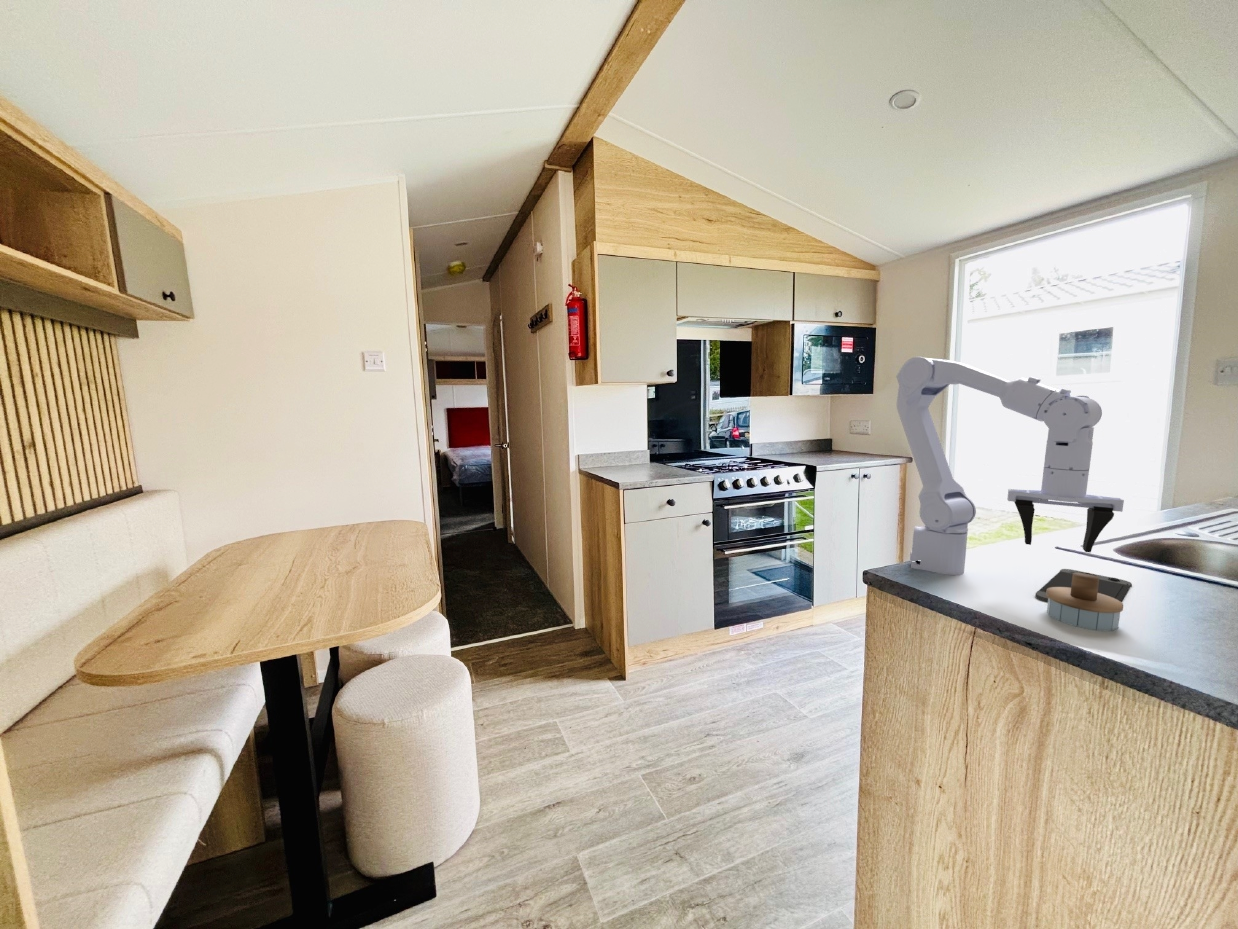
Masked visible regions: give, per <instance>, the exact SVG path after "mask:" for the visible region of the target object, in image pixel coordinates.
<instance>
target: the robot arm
mask: <svg viewBox="0 0 1238 929" xmlns="http://www.w3.org/2000/svg"><path fill="white" fill-rule="evenodd" d="M895 378H896V379H897V383H898V388H897V390H898V392H897V397H896V398H897V399H896V410H897V413H898V415H899V419H900V422H901V425H902V427H903V430H904V433H905V436H906V439H907V442H908V444H909V449H910V451H911V454H912V457H913V459H914V463H915V466H916V469H917V472H918V475H919V477H920V480H921V484H922V488H921V489H920V491H919V494H918V500H919V505H920V506H919V518H920V520H921V522H922V524H924V526H917V525H915V526H914V528H913V532H912V533H913V534H912V546H911V551H910V556H909V561H910V568H911V569H916V570H922V571H927V572H933V573H935V574H941V575H948V576H949V575H950V576H958V575H959V576H960V575H964V573H965V567H966V566H965V565H966V554H967V544H968V532H969V528H968V524H970V523H972V521H974V519H975V517H976V514H977V510H976V509H977V508H976V505H975V503H974V502H973V501H972V499H970V497H968V496H967V495H966V492H965V489H964V487H963V486H961V484H960V483H958V482H957V481H956V480H955V479H954V477H953V474H952V471H951V469H950V466H949V463H948V461H947V460H948V459H947V458H946V454H945V451H944V449H943V447H942V443H941V441H940V438H939V436H938V433H937V429H936V426H935V424H934V421H933V418H932V415H931V412H930V409H929V407H930V405H931V404H932V403H933V401H934V400H935V398H937V396H938V395H940V394H941V393H942V392H943V391H944V390H945V389H947V388H948V387H949V386H950V385H959V384H960V385H963V386H966V387H968V388H971V389H973V390H976V391H980V392H983V393H986V394H990V395H991V396H995V397H998V398H999V399H1000V402H1001V404H1002V406H1003V408H1006V409H1008V410H1010V411H1013V412H1016V413H1017V414H1018V413H1019V414H1020V415H1023V416H1026V417H1029V418H1031V419H1034V420H1036V421H1039V422H1044V424H1045V426H1046V427H1048V432H1047V440H1046V445H1045V446H1046V447H1045V453H1044V454H1045V455H1044V463H1043V470H1042V471H1043V472H1042V480H1041V490H1034V489H1033V490H1032V489H1012V488H1008V489H1007V490H1008V491H1007V501H1008V502H1014V504H1015V507H1016V509H1017V512H1018V514H1019V517H1020V521H1021V523H1022V527H1023V532H1024V543H1025V545H1030V546H1031V545H1032V540H1033V539H1032V538H1033V520H1034V516H1035V510H1036V509H1035V504H1042V505H1044V504H1045V505H1053V506H1055V505H1056V506H1066V507H1076V508H1083V509H1084V508H1086V511H1087V512H1086V528H1085V529H1086V530H1085V532H1084V538H1083V542H1082V545H1083V546H1082V550H1083V551H1084V552H1085V553H1092V549H1093V546H1094V545H1095V542H1096V541H1097V539H1098V537H1099V535H1100V534H1101V533H1102V531H1103V530H1104V528H1105V527H1106V526H1107V525H1108V524H1109V523H1110V522H1111V521H1112V520H1113V518H1114V517H1115V513H1114V512H1121V513H1122V512H1123V511H1124V504H1125V503H1124V501H1125V500H1124V499H1123V498H1120V497H1113V496H1112V497H1111V496H1102V495H1094V494H1093V495H1092V494H1087V489H1088V483H1089V482H1088V481H1089V475H1090V474H1089V473H1090V468H1091V467H1090V466H1091V460H1092V459H1091V458H1092V452H1093V443H1094V442H1093V440H1094V438H1093V437H1094V429H1095V426H1096V425H1097V424H1098V423H1099V422H1100V420H1101V419H1102V415H1103V411H1102V407H1101V405H1100V404H1099V403H1098V401H1095V399H1092V398H1090V397H1089V396H1087V395H1076V396H1075V395H1074V396H1071V392H1072V391H1071V390H1070V389H1067V388H1061V389H1058V388H1054V387H1052V386H1049V385H1046V384H1043V383H1040V382H1041V380H1042V379H1040V378H1037V377H1034V376H1030V377H1028V378H1025V377H1021V378H1020V377H1019V378H1017V379H1014V380H1011V381H1010V380H1008V379H1005V378H1004V377H1003V378H1002V377H1000V376H998V375H995V374H994V373H993V374H992V373H990V372H987V371H985V370H983V369H979V368H978V367H976V366H975V367H974V366H972V365H970V364H967V363H964V362H960V361H954V360H949V359H945V358H929V357H924V356H923V357H922V356H914V357H910V358H909V359H907V360H906V361H905V362H904V364H903V365H902V366H901V367H900V369H899V371H898V373H897V375H896V377H895ZM918 560H921V561H918ZM912 561H915V562H912ZM916 561H918V562H916Z"/></svg>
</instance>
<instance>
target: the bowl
mask: <svg viewBox="0 0 1238 929" xmlns="http://www.w3.org/2000/svg"><path fill="white" fill-rule="evenodd" d="M1046 606H1047V607H1046V613H1047V614H1048V616H1049V617H1050V618H1053V619H1055V620H1056V621H1058V622H1061V623H1064V624H1067V625H1071V626H1073V627H1077V628H1083V629H1087V630H1093V631H1101V632H1102V631H1105V632H1106V631H1108V632H1110V631H1112V632H1113V631H1114V630H1117V629H1119V625H1120V618H1121V616H1120V615H1121V612H1118V613H1100V612H1092V611H1086V610H1081V609H1077V608H1073V607H1069V606H1066V605H1063V604H1060V603H1057V602H1055V601H1053V600H1051V599H1049V598H1048V602H1047V605H1046Z"/></svg>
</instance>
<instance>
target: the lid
mask: <svg viewBox="0 0 1238 929" xmlns="http://www.w3.org/2000/svg"><path fill="white" fill-rule="evenodd" d="M1098 585H1099V578H1098V577H1097V576H1094V575H1090V574H1084V573H1073V577H1072V586H1071V588H1069V587H1051V588H1048V589H1047V590H1046V596H1047V597H1048V598H1049V599H1051V600H1053V601H1055V602H1057V603H1060V604H1063V605H1066V606H1069V607H1073V608H1077V609H1081V610H1086V611H1092V612H1100V613H1118V612H1120V613H1121V612H1122V611H1124V610H1123V609H1124V603H1123V601H1122V602H1120V601H1119V600H1117V599H1115V598H1112V597H1110V596H1107V595H1104V594H1100V593H1098Z"/></svg>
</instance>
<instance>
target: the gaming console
mask: <svg viewBox="0 0 1238 929" xmlns="http://www.w3.org/2000/svg"><path fill="white" fill-rule="evenodd" d="M1073 573H1084V574H1090V575H1094V576H1097V577H1098V578H1099V585H1098V593H1100V594H1104V595H1107V596H1110V597H1112V598H1115V599H1117V600H1119V601H1120V602H1122V603H1123V600H1124V599H1125V597H1126V595H1127V594H1128V592H1129V590H1130V588H1131V587H1132V585H1133V584H1132V582H1130V581H1128V580H1124V579H1121V578H1118V577H1113V576H1112V577H1111V576H1105V575H1102V574H1096V573H1092V572H1091V573H1090V572H1087V571H1086V572H1085V571H1082V570H1081V571H1080V570H1076V569H1072V568H1071V569H1070V568H1061V569H1060V570H1059V571H1058V573H1056V574H1055V575H1054V576H1053V577H1052V578H1051V579H1050V580H1049V581H1048V582H1047V583H1045V584H1044V585H1043V586H1041V588H1040V589H1039V590H1037V591H1036V592H1035V598H1036V599H1037V600H1039V601H1041V602H1046V603H1048V597H1047V596H1046V590H1047V589H1048V588H1051V587H1069V588H1071V586H1072V577H1073Z"/></svg>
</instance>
